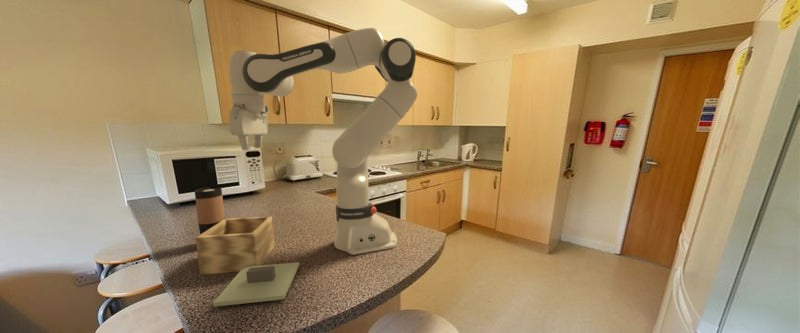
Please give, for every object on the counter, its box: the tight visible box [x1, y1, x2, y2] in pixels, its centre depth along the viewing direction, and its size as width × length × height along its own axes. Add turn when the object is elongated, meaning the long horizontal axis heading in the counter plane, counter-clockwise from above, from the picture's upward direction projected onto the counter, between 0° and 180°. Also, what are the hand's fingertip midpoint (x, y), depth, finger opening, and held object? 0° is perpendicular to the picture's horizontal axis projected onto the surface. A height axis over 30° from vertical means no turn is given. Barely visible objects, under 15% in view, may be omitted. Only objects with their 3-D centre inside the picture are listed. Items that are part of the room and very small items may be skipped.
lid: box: [212, 261, 300, 308], centre depth 64 cm, size 15×15×5 cm
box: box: [194, 215, 276, 276], centre depth 77 cm, size 15×15×11 cm
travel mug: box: [194, 186, 226, 235], centre depth 88 cm, size 8×8×20 cm
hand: (252, 149), depth 81 cm, fingers open, 8 cm apart
